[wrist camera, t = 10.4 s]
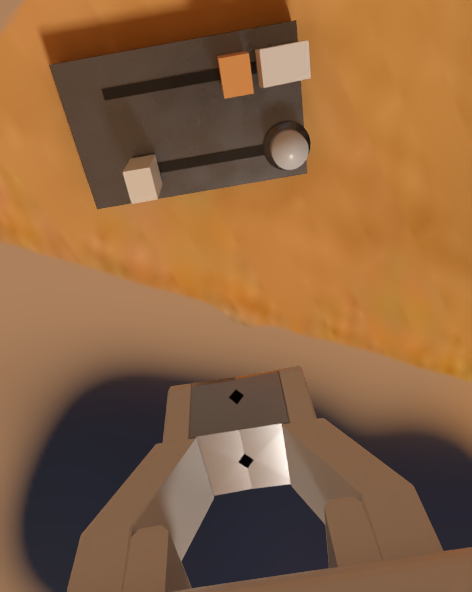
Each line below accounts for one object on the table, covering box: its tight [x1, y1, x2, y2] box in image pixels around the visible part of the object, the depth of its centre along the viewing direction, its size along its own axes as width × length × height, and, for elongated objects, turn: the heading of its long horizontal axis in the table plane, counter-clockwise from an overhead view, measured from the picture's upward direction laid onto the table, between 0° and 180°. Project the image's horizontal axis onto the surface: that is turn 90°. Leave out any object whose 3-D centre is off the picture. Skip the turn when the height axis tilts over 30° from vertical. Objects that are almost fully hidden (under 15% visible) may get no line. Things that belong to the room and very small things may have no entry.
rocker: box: [255, 40, 311, 88], centre depth 31 cm, size 4×2×1 cm, turn 99°
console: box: [49, 20, 310, 209], centre depth 35 cm, size 18×11×3 cm, turn 99°
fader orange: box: [217, 51, 254, 99], centre depth 31 cm, size 2×2×4 cm
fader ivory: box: [123, 154, 162, 204], centre depth 34 cm, size 2×2×4 cm
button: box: [270, 128, 309, 170], centre depth 35 cm, size 3×3×2 cm
